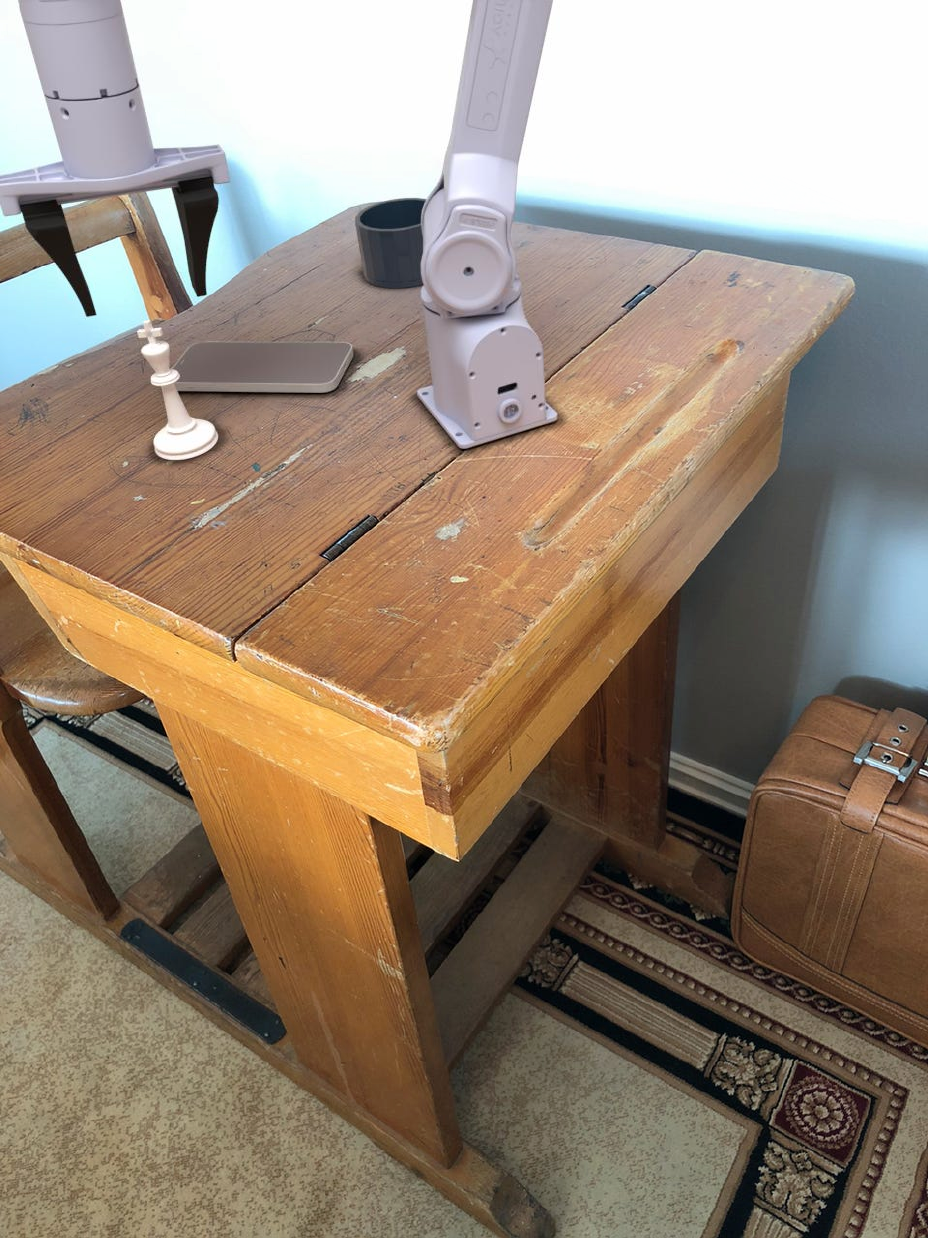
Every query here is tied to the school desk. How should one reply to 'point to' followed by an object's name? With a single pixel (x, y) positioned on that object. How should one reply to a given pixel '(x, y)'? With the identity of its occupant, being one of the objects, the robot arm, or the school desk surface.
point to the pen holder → (391, 242)
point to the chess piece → (174, 405)
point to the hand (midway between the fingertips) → (145, 300)
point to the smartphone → (263, 366)
